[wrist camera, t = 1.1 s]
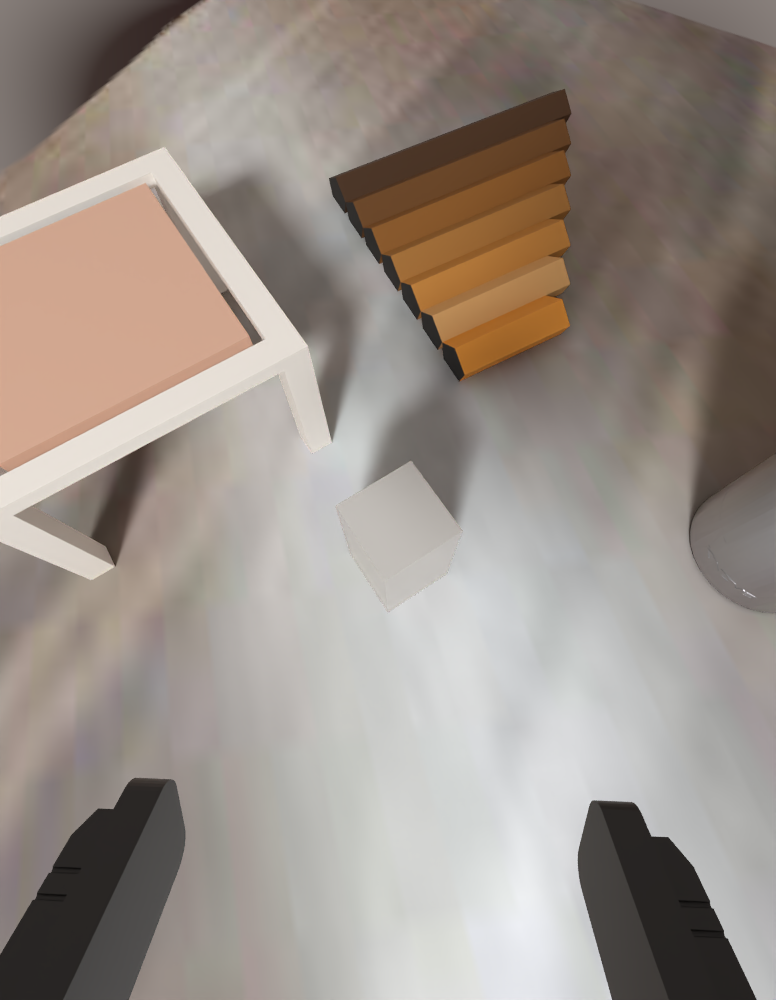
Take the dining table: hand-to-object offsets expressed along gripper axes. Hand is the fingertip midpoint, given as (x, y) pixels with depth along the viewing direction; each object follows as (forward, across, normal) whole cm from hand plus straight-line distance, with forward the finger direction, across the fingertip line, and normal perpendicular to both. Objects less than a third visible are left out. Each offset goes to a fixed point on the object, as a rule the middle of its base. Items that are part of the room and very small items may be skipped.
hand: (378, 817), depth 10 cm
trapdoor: (+27, +19, -7) cm, 34 cm away
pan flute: (+49, -10, -12) cm, 52 cm away
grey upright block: (+26, 0, +10) cm, 28 cm away
